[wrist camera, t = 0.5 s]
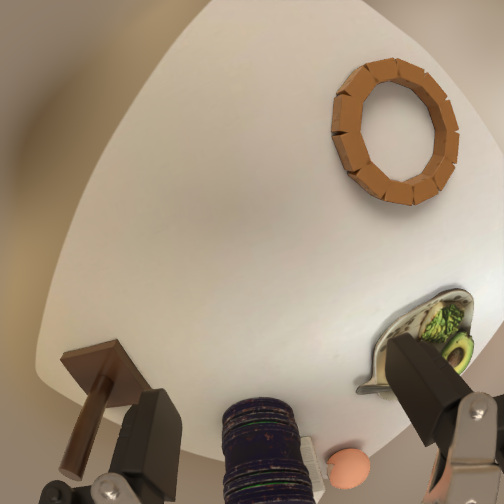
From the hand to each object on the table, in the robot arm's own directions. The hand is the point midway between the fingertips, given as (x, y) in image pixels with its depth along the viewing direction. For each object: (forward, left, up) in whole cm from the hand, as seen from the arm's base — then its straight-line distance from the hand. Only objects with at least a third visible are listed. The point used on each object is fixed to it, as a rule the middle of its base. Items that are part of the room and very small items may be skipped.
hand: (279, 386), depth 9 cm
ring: (-5, +17, -18) cm, 26 cm away
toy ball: (+43, +3, -18) cm, 47 cm away
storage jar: (+25, -7, -18) cm, 32 cm away
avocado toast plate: (+23, +18, -18) cm, 34 cm away
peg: (+11, -22, -18) cm, 30 cm away
